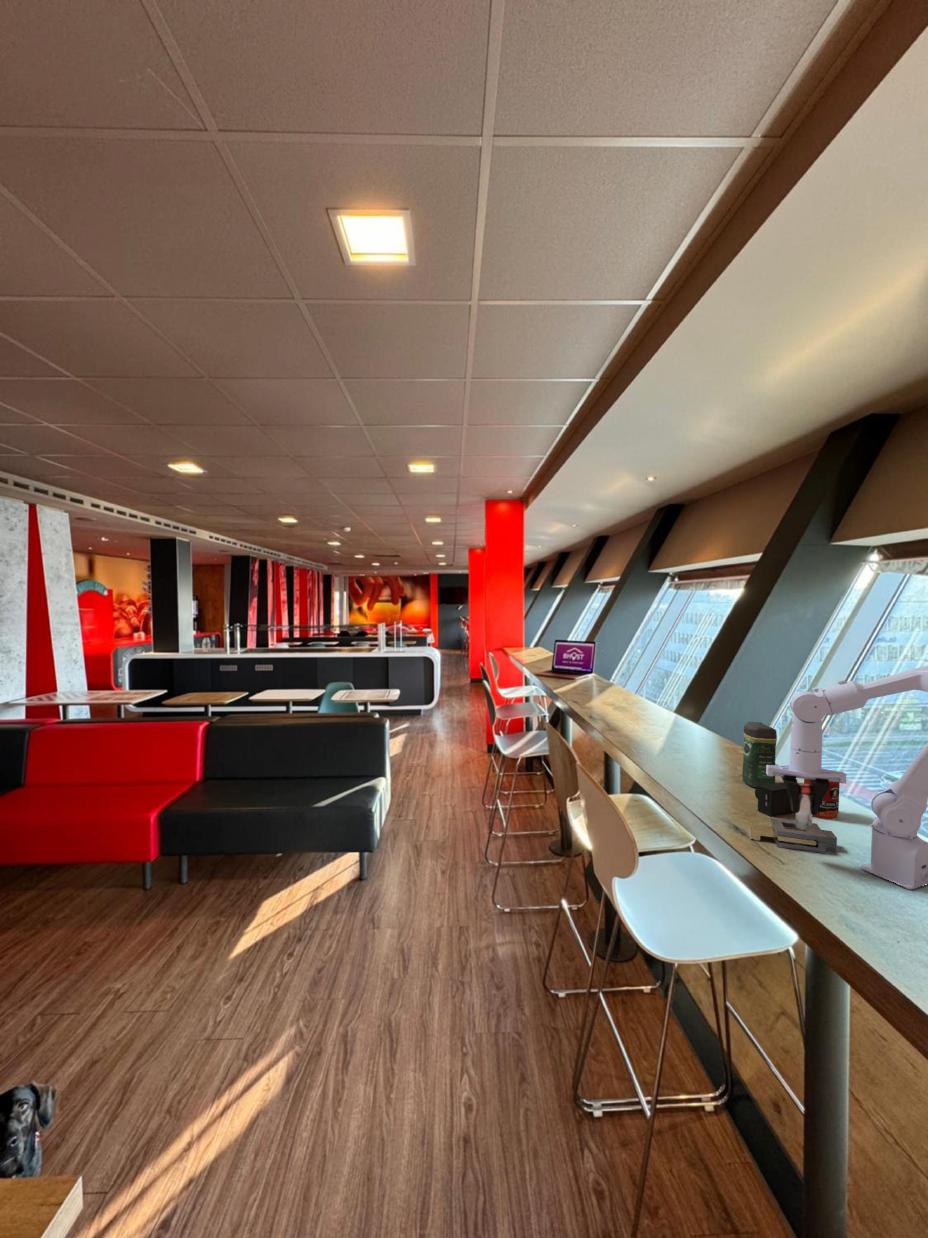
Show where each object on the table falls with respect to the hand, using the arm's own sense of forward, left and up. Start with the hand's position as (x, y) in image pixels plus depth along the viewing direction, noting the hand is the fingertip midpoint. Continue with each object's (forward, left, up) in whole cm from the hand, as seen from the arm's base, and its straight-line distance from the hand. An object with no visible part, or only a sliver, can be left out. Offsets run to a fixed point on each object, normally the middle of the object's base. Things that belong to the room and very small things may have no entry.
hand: (803, 812), depth 120 cm
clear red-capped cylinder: (0, 0, -3) cm, 3 cm away
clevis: (+6, -6, -10) cm, 13 cm away
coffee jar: (+39, -34, -10) cm, 53 cm away
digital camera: (+22, -20, -10) cm, 31 cm away
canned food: (+16, -29, -10) cm, 34 cm away
